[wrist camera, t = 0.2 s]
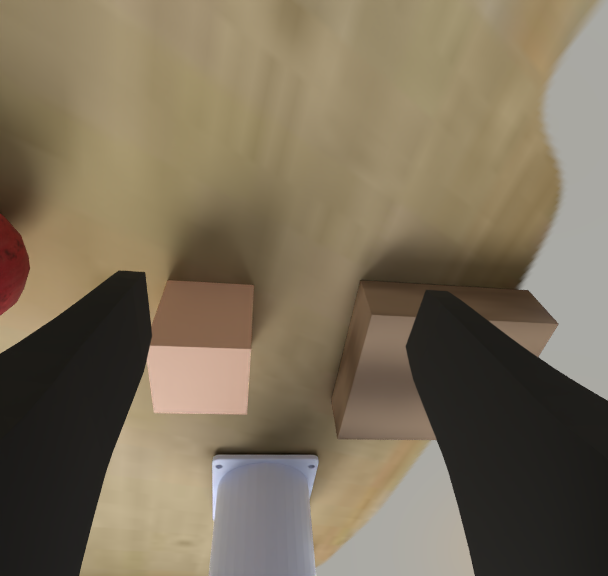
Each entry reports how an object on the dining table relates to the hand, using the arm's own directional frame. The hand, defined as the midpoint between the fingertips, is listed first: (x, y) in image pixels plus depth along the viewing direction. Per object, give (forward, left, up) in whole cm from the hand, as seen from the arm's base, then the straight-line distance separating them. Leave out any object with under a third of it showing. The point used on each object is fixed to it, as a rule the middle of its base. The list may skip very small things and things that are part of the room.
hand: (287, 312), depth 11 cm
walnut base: (-10, -10, -10) cm, 17 cm away
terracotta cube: (-8, +3, -10) cm, 13 cm away
